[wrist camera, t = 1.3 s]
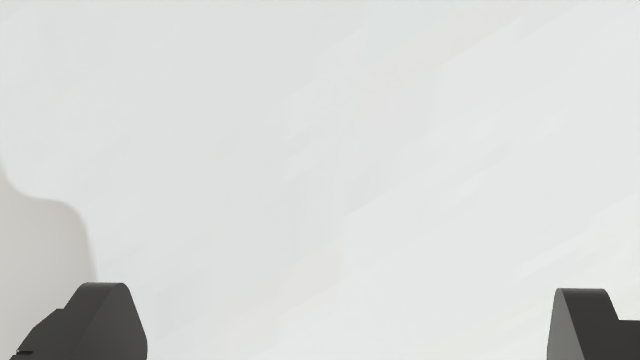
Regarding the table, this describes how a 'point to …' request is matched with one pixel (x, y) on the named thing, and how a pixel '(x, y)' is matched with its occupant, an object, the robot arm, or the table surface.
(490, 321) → the table surface
